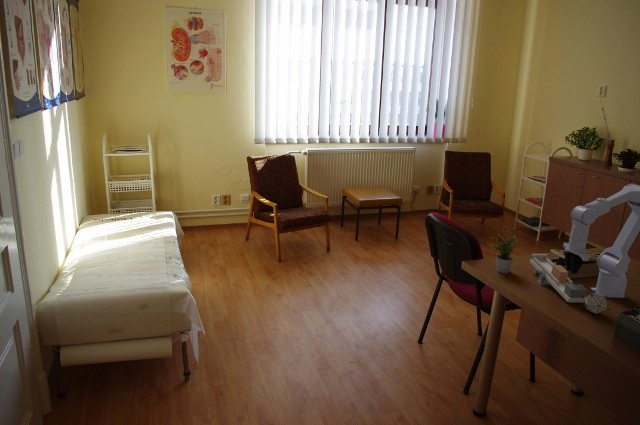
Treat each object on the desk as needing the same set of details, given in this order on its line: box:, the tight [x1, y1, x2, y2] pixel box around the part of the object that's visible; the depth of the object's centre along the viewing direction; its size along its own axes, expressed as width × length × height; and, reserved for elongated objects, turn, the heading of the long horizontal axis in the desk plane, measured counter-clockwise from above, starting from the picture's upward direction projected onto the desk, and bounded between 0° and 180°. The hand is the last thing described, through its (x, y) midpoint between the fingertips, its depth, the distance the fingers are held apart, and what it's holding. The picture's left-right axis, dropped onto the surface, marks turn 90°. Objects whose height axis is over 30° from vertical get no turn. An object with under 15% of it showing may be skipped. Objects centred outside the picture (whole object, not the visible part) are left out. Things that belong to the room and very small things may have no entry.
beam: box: [529, 253, 588, 304], centre depth 199 cm, size 33×8×5 cm, turn 2°
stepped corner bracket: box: [533, 267, 583, 306], centre depth 199 cm, size 31×11×5 cm, turn 2°
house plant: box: [488, 233, 521, 274], centre depth 213 cm, size 14×14×16 cm
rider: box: [551, 264, 569, 283], centre depth 197 cm, size 6×3×5 cm, turn 2°
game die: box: [582, 290, 611, 317], centre depth 178 cm, size 9×8×10 cm
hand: (571, 271), depth 188 cm, fingers open, 2 cm apart
